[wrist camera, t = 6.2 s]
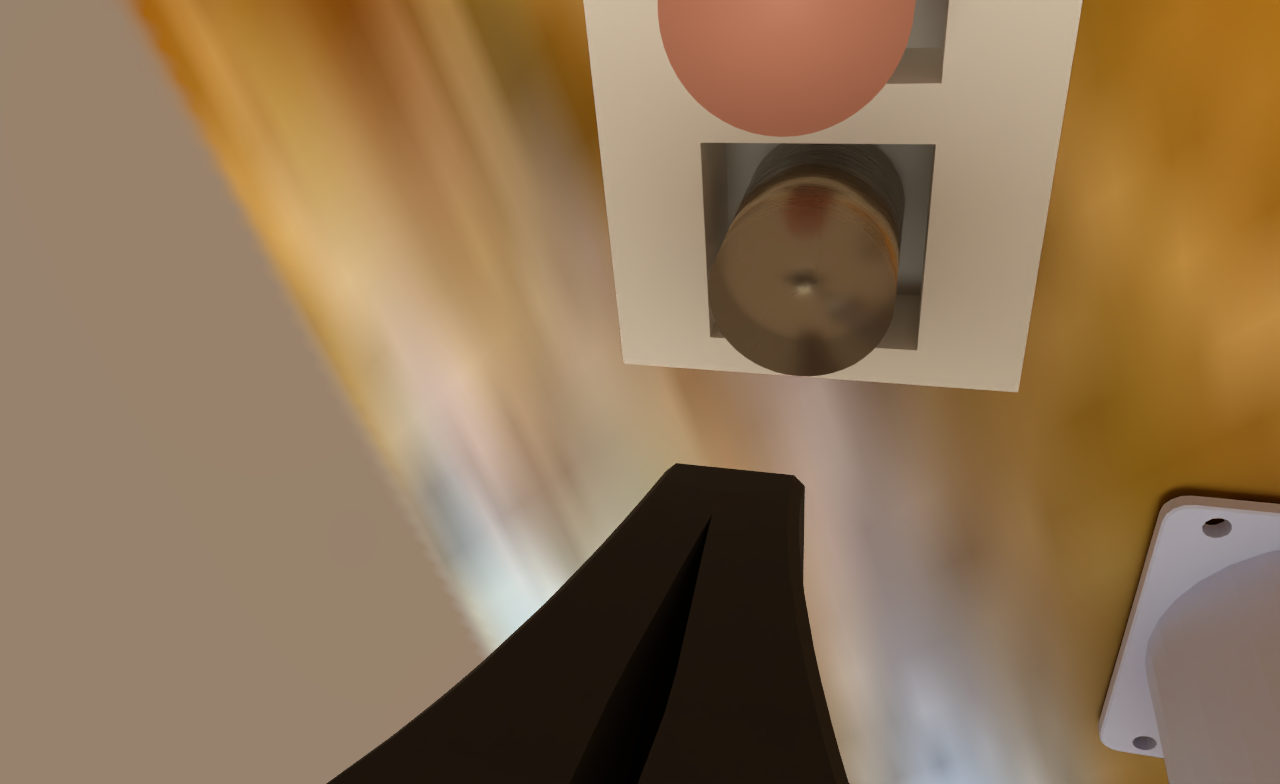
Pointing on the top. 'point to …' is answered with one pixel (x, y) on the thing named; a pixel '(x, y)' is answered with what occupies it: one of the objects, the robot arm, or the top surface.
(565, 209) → the top surface
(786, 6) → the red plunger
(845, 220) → the bronze plunger
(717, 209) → the white slotted tray
